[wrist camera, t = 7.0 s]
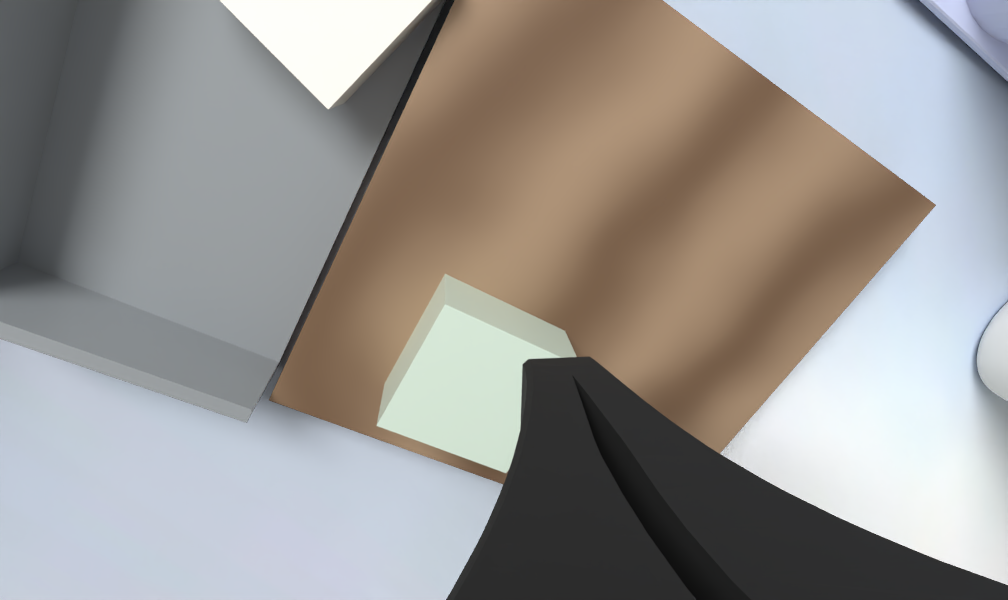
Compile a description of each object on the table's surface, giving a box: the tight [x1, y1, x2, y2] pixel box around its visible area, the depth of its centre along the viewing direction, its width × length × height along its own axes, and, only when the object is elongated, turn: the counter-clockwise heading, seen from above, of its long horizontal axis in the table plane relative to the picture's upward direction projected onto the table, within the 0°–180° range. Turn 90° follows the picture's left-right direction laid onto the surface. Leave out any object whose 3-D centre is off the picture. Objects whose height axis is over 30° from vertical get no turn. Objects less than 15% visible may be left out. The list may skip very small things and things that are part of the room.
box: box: [0, 0, 446, 423], centre depth 15 cm, size 10×18×4 cm, turn 150°
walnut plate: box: [269, 0, 936, 484], centre depth 20 cm, size 18×18×2 cm
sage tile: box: [376, 274, 577, 473], centre depth 18 cm, size 5×5×2 cm
